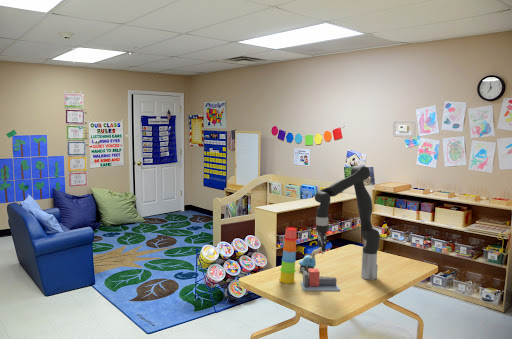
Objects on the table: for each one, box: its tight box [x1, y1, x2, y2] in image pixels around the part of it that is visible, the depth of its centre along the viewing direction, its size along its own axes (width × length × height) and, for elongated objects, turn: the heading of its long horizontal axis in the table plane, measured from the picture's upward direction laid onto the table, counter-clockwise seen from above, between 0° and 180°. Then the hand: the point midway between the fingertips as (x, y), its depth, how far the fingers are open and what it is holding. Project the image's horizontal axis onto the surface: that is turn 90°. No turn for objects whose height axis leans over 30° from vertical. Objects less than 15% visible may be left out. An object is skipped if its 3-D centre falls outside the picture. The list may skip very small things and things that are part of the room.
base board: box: [299, 281, 341, 292], centre depth 245 cm, size 22×12×1 cm, turn 93°
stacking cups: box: [278, 226, 298, 285], centre depth 251 cm, size 10×10×35 cm
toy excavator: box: [298, 247, 325, 273], centre depth 272 cm, size 9×17×17 cm, turn 78°
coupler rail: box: [302, 270, 337, 288], centre depth 245 cm, size 20×7×8 cm, turn 93°
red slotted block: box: [307, 268, 320, 286], centre depth 244 cm, size 6×6×9 cm
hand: (321, 249), depth 248 cm, fingers open, 8 cm apart
